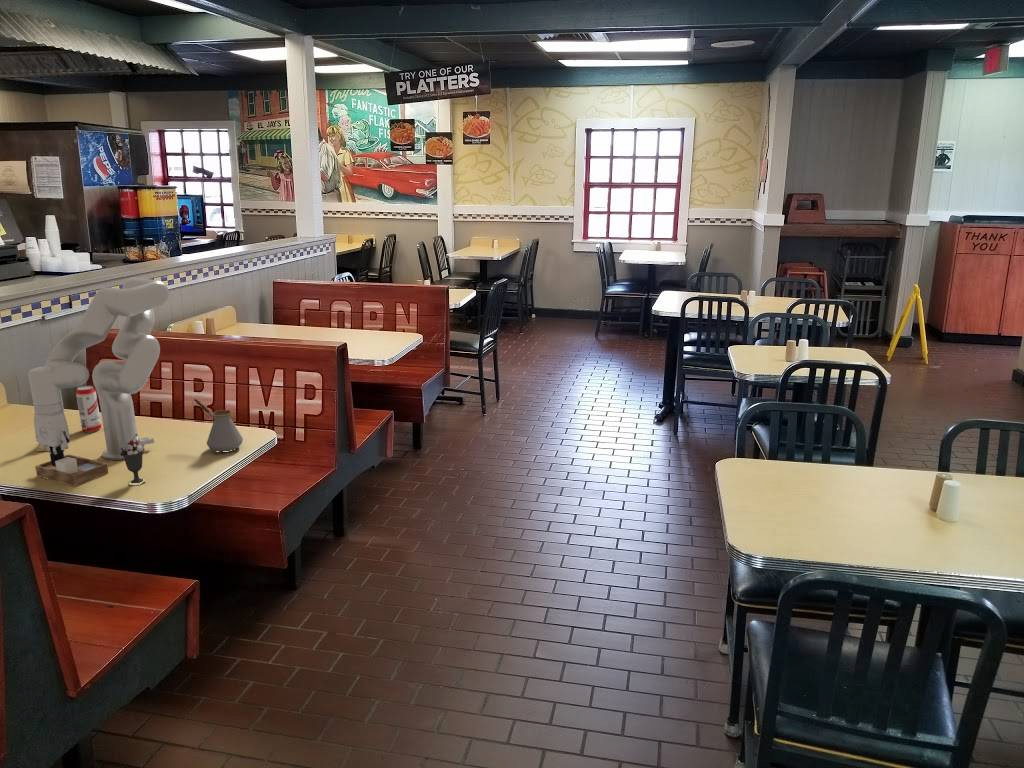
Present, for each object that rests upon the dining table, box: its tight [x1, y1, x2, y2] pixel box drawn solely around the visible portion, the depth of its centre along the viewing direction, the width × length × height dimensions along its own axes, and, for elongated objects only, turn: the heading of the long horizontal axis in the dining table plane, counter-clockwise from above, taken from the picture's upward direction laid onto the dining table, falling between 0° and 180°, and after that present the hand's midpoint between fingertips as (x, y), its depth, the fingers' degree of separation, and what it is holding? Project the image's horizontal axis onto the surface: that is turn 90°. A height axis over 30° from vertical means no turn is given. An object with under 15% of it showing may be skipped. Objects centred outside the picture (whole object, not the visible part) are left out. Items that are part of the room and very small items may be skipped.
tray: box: [35, 454, 109, 487], centre depth 237 cm, size 18×11×3 cm, turn 64°
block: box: [55, 457, 78, 474], centre depth 233 cm, size 4×4×4 cm
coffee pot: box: [191, 398, 244, 452], centre depth 259 cm, size 21×12×15 cm, turn 54°
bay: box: [78, 463, 98, 471], centre depth 238 cm, size 5×5×2 cm
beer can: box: [75, 385, 102, 433], centre depth 274 cm, size 6×6×16 cm
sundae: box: [120, 433, 146, 483], centre depth 230 cm, size 7×7×15 cm
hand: (58, 464), depth 235 cm, fingers closed
